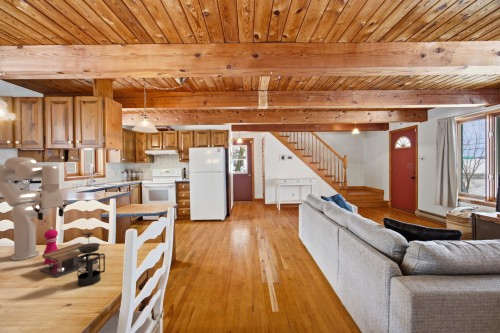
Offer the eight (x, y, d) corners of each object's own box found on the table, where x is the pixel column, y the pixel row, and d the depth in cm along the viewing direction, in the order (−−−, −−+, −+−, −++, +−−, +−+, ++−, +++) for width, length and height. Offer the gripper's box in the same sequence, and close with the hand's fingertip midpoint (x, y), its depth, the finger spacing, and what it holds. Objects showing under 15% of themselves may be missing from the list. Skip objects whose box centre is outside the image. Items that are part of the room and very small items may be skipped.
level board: (42, 257, 126) (42, 252, 126) (79, 245, 142) (78, 241, 142) (58, 262, 119) (58, 257, 119) (95, 249, 136) (95, 244, 136)
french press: (76, 289, 108) (75, 237, 108) (74, 281, 115) (73, 233, 115) (106, 280, 116) (106, 232, 115) (102, 273, 123) (102, 228, 122)
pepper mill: (50, 265, 133) (49, 229, 132) (39, 264, 134) (39, 228, 134) (62, 260, 140) (62, 225, 139) (52, 259, 141) (52, 225, 141)
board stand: (39, 271, 125) (39, 259, 125) (80, 257, 143) (80, 246, 143) (57, 277, 118) (56, 264, 118) (97, 262, 137) (97, 251, 136)
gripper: (35, 189, 127) (35, 222, 127) (71, 186, 142) (71, 215, 143) (27, 188, 130) (28, 220, 130) (63, 186, 146) (64, 214, 146)
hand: (51, 218), depth 136 cm, fingers open, 9 cm apart
